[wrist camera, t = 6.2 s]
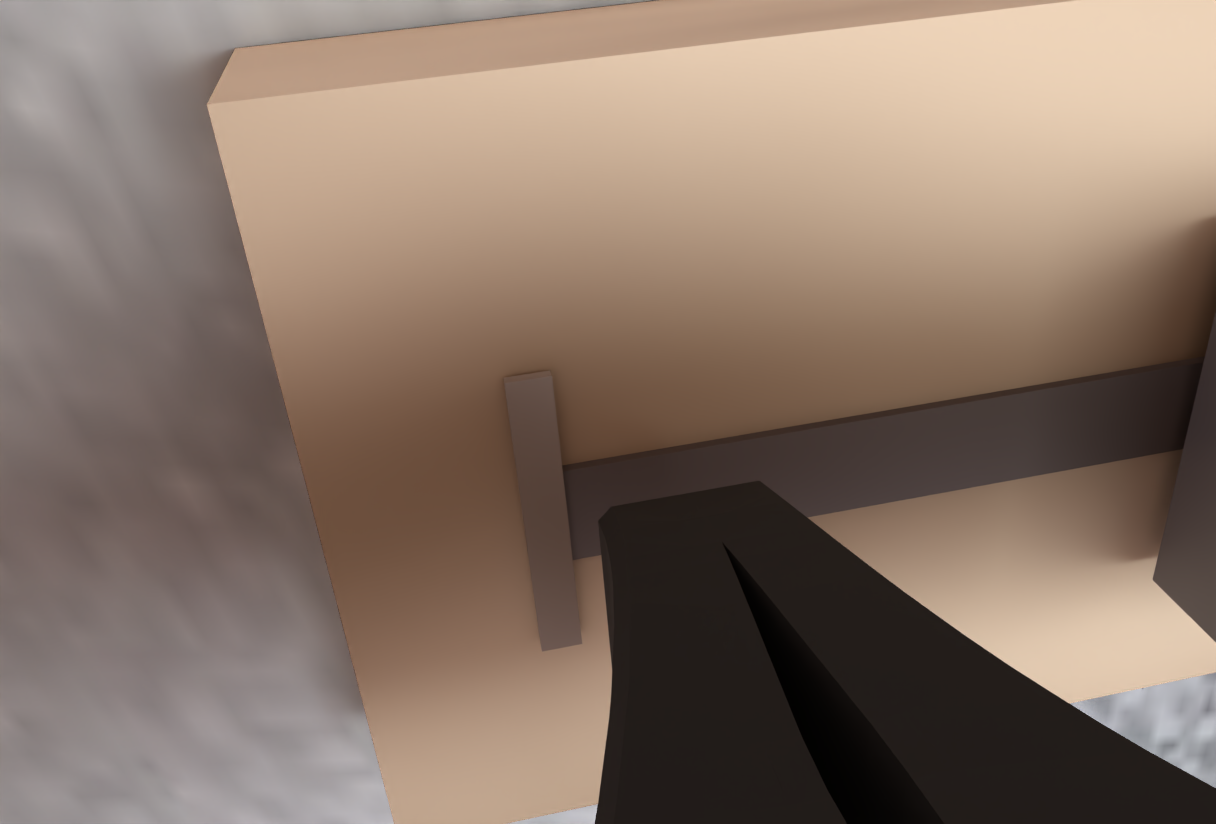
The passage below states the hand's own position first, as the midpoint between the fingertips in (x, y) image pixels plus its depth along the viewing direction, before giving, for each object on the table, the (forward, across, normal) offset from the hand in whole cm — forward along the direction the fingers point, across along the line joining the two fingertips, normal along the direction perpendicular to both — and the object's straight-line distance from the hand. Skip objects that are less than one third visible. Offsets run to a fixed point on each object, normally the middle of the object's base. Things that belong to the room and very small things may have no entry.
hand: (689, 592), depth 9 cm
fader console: (+3, -4, 0) cm, 5 cm away
